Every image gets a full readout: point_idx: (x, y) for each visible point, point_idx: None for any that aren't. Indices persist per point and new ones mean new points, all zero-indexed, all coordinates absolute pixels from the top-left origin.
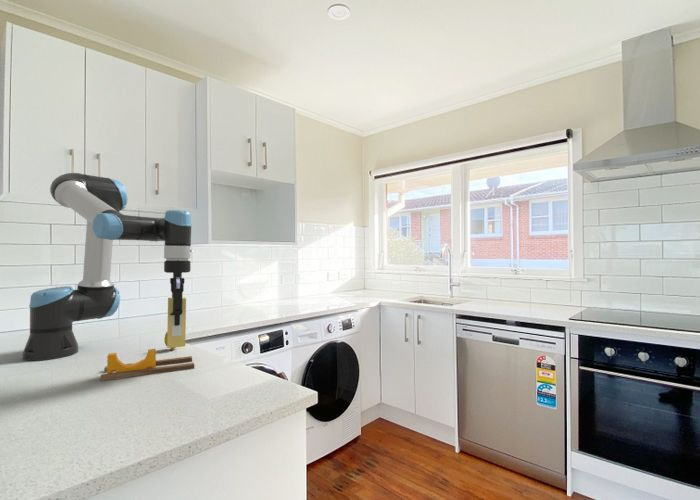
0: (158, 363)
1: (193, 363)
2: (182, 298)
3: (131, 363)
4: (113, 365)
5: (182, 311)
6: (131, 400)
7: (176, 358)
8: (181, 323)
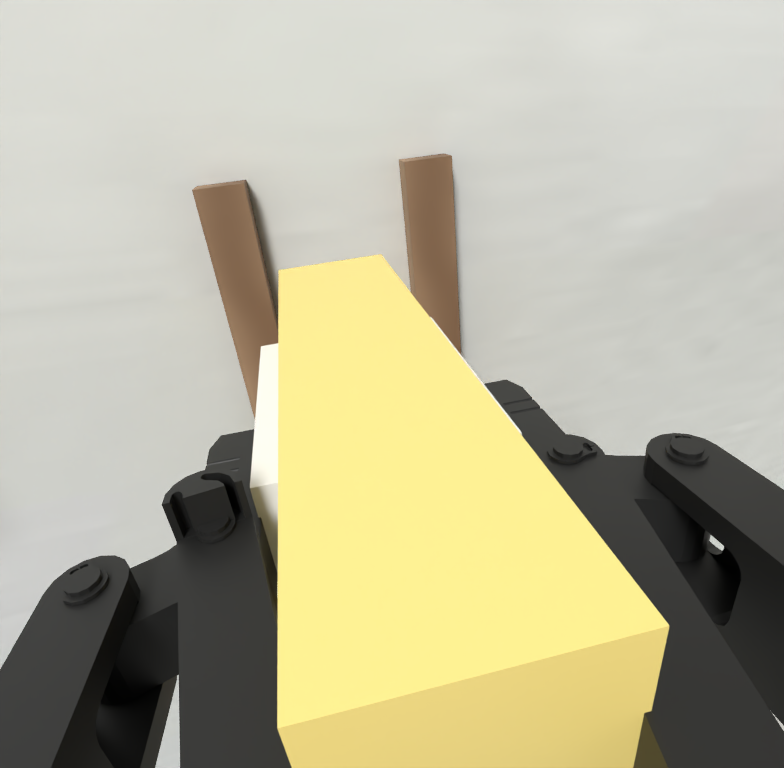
0: None
1: (426, 163)
2: (643, 696)
3: None
4: None
5: (699, 444)
6: (774, 385)
7: (238, 297)
8: (473, 372)
